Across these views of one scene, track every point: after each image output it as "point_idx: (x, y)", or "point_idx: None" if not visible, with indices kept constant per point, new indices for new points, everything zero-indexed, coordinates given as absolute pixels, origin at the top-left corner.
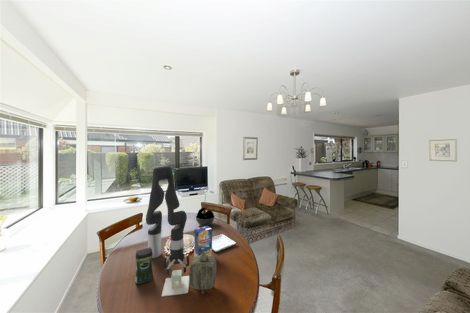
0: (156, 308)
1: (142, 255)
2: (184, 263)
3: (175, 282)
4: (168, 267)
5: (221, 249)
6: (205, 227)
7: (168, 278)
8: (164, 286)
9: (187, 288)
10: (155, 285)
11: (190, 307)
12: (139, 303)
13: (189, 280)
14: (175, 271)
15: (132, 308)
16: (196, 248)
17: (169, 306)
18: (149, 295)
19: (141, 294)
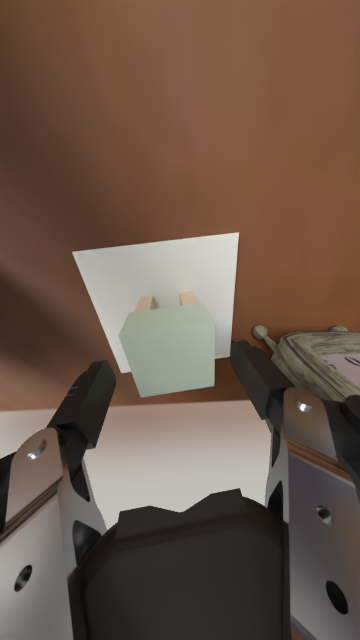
0: (129, 405)
1: None
2: (301, 427)
3: (157, 297)
4: (72, 486)
5: None
6: None
7: (92, 255)
8: (105, 325)
9: (226, 339)
10: (42, 308)
11: (234, 398)
12: (51, 395)
13: (269, 427)
14: (155, 346)
15: (43, 409)
16: None
17: (169, 399)
18: (62, 365)
19: (16, 361)
